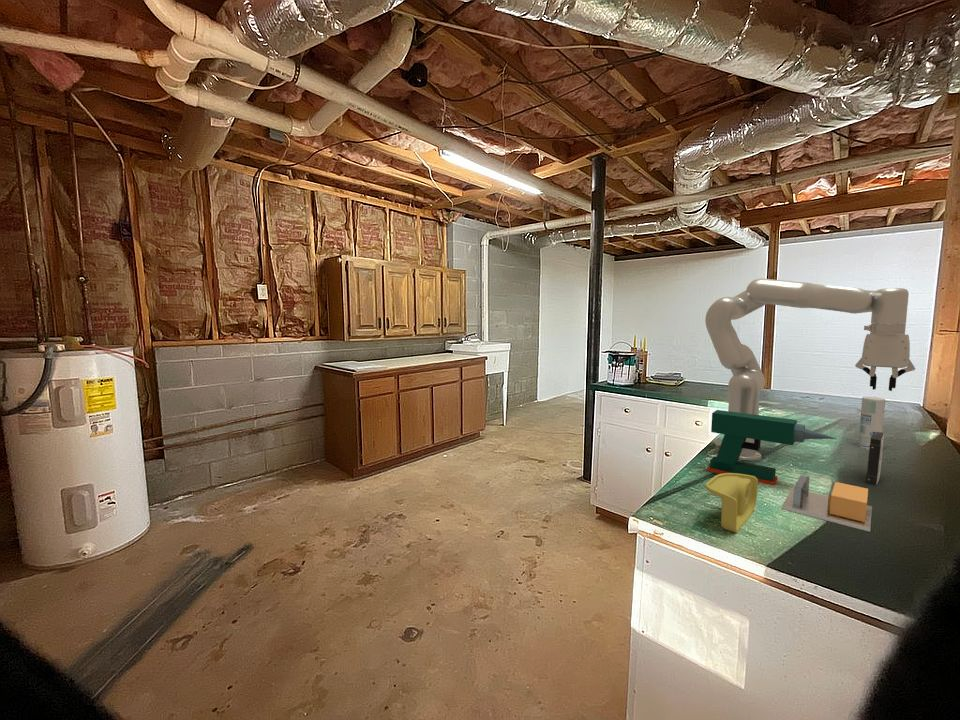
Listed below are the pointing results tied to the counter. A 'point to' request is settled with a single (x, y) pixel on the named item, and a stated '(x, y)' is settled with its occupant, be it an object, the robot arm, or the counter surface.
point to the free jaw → (848, 501)
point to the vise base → (819, 506)
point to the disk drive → (875, 458)
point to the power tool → (757, 429)
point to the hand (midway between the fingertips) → (882, 389)
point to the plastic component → (734, 498)
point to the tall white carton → (870, 419)
